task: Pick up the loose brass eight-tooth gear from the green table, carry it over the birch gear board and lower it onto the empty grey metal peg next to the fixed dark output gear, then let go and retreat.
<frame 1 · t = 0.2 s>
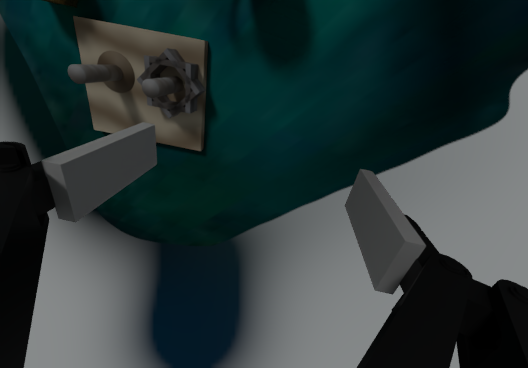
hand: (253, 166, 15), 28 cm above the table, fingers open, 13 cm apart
gear board: (148, 89, 41), on the table
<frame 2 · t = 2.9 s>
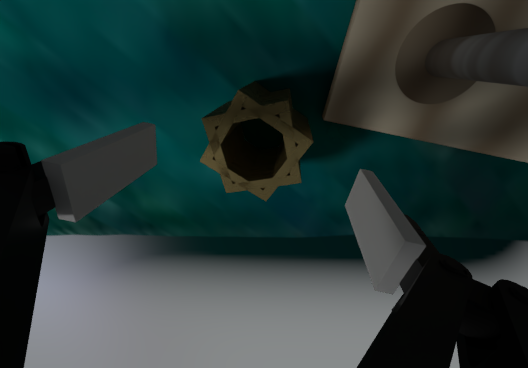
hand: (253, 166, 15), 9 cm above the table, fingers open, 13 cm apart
brass gear: (264, 126, 22), on the table
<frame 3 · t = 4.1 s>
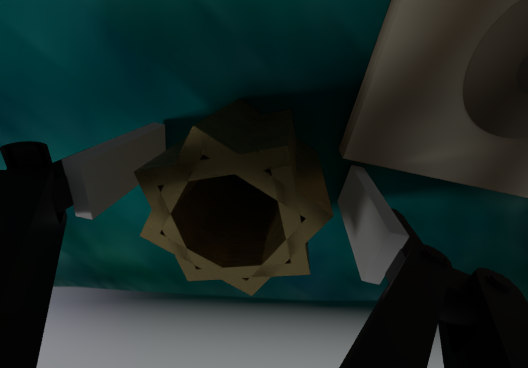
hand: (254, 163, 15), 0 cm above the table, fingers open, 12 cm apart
brass gear: (255, 161, 15), on the table
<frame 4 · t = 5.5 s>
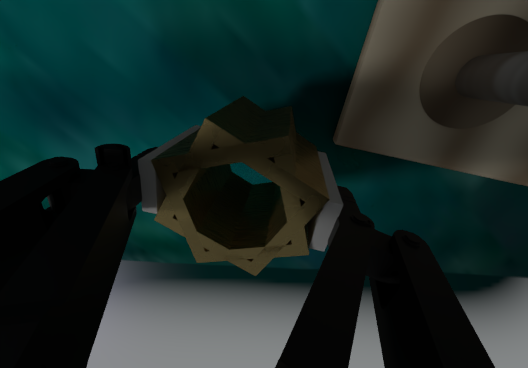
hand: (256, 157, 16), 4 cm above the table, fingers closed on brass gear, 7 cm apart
brass gear: (257, 155, 16), point 4 cm above the table, touching gripper
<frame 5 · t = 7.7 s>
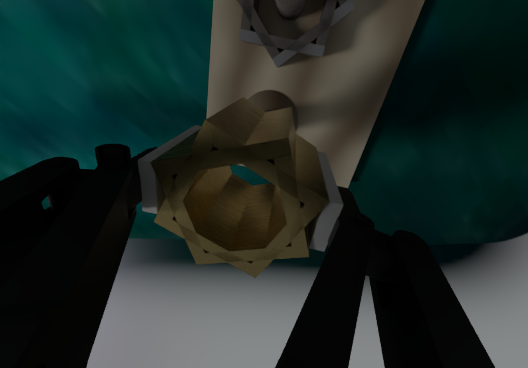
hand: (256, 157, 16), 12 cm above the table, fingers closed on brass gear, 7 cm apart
gear board: (296, 80, 25), on the table
brass gear: (257, 156, 16), point 12 cm above the table, touching gripper
when the fingers open (3 cm above the table, at t = 10.1 s): brass gear stays where it is, resting on gear board.
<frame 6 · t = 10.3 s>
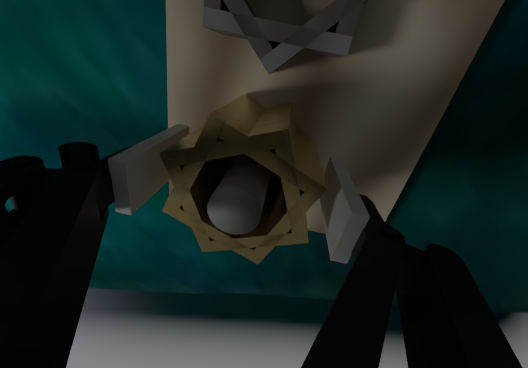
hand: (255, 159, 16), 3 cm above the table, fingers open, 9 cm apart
gear board: (300, 91, 16), on the table
brass gear: (259, 151, 17), point 2 cm above the table, touching gear board
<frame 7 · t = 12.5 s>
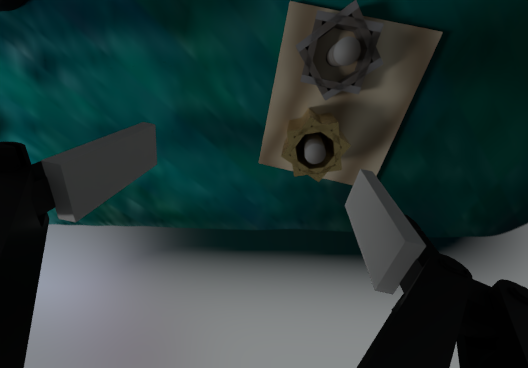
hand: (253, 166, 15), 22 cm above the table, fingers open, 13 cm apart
gear board: (334, 106, 33), on the table
brass gear: (312, 136, 34), point 2 cm above the table, touching gear board
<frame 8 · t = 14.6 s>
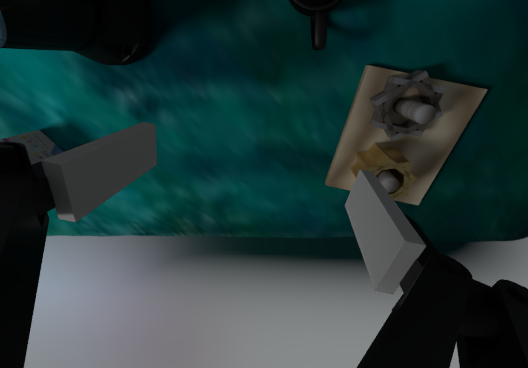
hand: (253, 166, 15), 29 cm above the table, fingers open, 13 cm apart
ink box: (49, 154, 51), on the table
gear board: (393, 141, 41), on the table
brass gear: (374, 164, 41), point 2 cm above the table, touching gear board
mug: (313, 5, 34), on the table
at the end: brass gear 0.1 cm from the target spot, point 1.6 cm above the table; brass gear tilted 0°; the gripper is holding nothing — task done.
